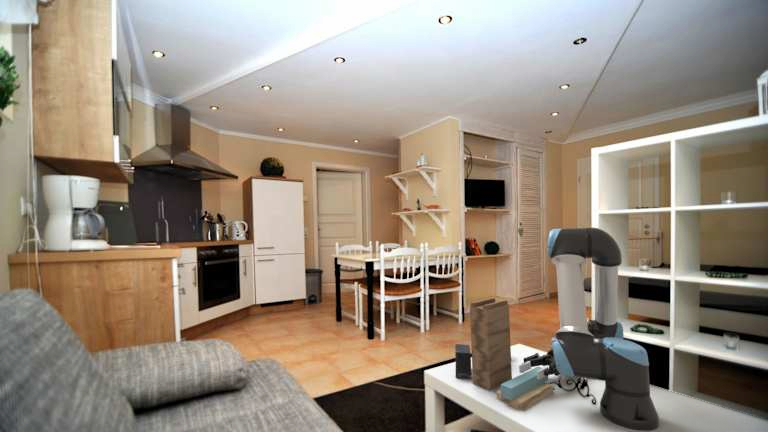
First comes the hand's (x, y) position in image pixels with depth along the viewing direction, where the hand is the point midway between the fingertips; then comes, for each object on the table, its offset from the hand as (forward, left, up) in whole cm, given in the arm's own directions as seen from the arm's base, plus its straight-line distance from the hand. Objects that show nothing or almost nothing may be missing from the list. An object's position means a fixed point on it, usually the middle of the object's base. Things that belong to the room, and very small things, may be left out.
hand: (528, 372), depth 126 cm
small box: (+27, +5, -8) cm, 29 cm away
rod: (0, +2, -5) cm, 6 cm away
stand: (+14, +3, -7) cm, 16 cm away
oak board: (0, +3, -7) cm, 8 cm away
